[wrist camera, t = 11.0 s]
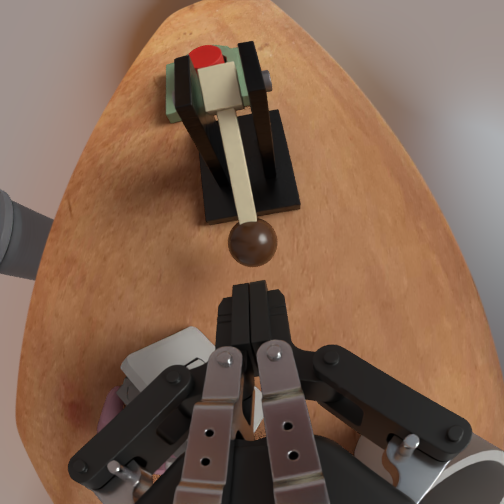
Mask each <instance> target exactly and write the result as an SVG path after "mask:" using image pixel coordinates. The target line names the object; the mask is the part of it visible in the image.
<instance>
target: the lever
mask: <svg viewBox="0 0 504 504" xmlns="http://www.w3.org/2000/svg"><path fill="white" fill-rule="evenodd" d="M197 72H198V77H199V82H200V87H201V92H202V97H203V102H204V107H205V111H206V112H207V113H209V114H210V115H212V116H213V115H217V117H218V122H219V127H220V132H221V137H222V142H223V147H224V152H225V157H226V161H227V166H228V171H229V176H230V181H231V186H232V191H233V195H234V200H235V205H236V210H237V215H238V220H239V222H238V223H237V224H236V225H235V226H234V227H233V228H232V230H231V231H230V234H229V237H228V248H229V251H230V253H231V255H232V257H233V258H234V259H235V260H236V261H237V262H238V263H240V264H242V265H244V266H247V267H258V266H261V265H264V264H266V263H267V262H268V261H270V260H271V258H272V257H273V256H274V254H275V252H276V249H277V236H276V233H275V231H274V229H273V228H272V226H271V225H270V224H269V223H267V222H266V221H264V220H262V219H259V218H257V215H256V210H255V205H254V200H253V195H252V190H251V184H250V179H249V174H248V169H247V164H246V159H245V154H244V149H243V144H242V139H241V134H240V129H239V124H238V119H237V114H236V111H237V110H242V109H244V103H243V98H242V93H241V88H240V83H239V79H238V74H237V70H236V67H235V64H234V61H232V62H227V63H222V64H218V65H213V66H209V67H205V68H201V69H198V70H197Z"/></svg>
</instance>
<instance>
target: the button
mask: <svg viewBox="0 0 504 504" xmlns="http://www.w3.org/2000/svg"><path fill="white" fill-rule="evenodd" d="M188 55H189V56H190V58H191V61H192V63H193V65H194V68H195V70H196V73H197V75H198V72H197V70H198V69H201V68H205V67H209V66H213V65H218V64H222V63H225V62H224V59H223V55H222V52H221V50H220V48H218V47H217V46H213V45H205V46H201V47H198V48H196V49H194V50H193V51H191V52H190V53H189V54H188ZM198 78H199V77H198Z"/></svg>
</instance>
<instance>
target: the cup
mask: <svg viewBox="0 0 504 504" xmlns="http://www.w3.org/2000/svg"><path fill="white" fill-rule="evenodd" d="M383 452H384V450H383V449H382V448H380V447H379V446H377V445H376V444H374V443H373V442H371V441H370V440H368V439H367V438H366V437H364V436H363V435H361V436H360V438H359V440H358V443H357V445H356V448H355V452H354V453H355V454H354V457H356V458H357V459H358V460H360V461H361V462H362V463H363V464H365V465H366V466H367V467H369V468H370V469H371V470H373V471H374V472H375V473H377V474H378V475H379V476H381V477H382V478H384V479H385V480H386V481H388V482H389V483H390V484H392V485H393V479H392V477H391V475H390V473H389V472H387V471H386V470H385V468H384V467H383V465H382V455H383ZM419 504H504V451H503V450H501V449H499V448H498V447H496V446H494V445H493V444H491V443H489V442H488V441H486V440H484V439H483V438H481V437H479V436H478V435H476V434H474V433H473V432H472V439H471V441H470V443H469V445H468V446H467V447H466V448H465V449H464V450H463V451H462V452H461V453H460V454H459V455H458V456H456V457H455V458H454V459H453V460H452V461H451V462H449V463H448V464H447V466H446V467H445V469H444V470H443V472H442V473H441V474H440V476H439V477H438V479H437V480H436V481H435V483H434V484H433V486H432V487H431V488H430V490H429V491H428V492H427V493H426V495H425V496H424V497H423V499H422V500H421V501H420V502H419Z"/></svg>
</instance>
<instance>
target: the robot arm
mask: <svg viewBox="0 0 504 504" xmlns="http://www.w3.org/2000/svg"><path fill="white" fill-rule="evenodd" d="M257 376H259V377H260V384H261V391H262V399H261V402H262V410H263V417H264V424H265V431H266V437H264V438H261V439H258V440H255V436H254V409H255V389H254V377H257ZM305 399H306V400H314V401H317V402H318V404H320V405H321V406H322V407H324V408H325V409H326V410H328V411H329V412H330V413H332V414H333V415H334V416H336V417H337V418H339V419H340V420H341V421H343V422H344V423H346V424H347V425H348V426H350V427H351V428H353V429H354V430H355V431H357V432H358V433H360V434H361V435H363V436H364V437H366V438H367V439H368V440H370V441H371V442H373V443H374V444H376V445H377V446H379V447H380V448H382V449H383V450H384V452H383V455H382V465H383V467H384V468H385V470H386V471H387V472H389V473H390V475H391V477H392V479H393V485H392V484H390V483H389V482H388V481H386V480H385V479H384V478H382V477H381V476H379V475H378V474H377V473H375V472H374V471H373V470H371V469H370V468H369V467H367V466H366V465H365V464H363V463H362V462H361V461H360V460H358V459H357V458H356V457H354V456H353V455H352V454H351V453H349V452H348V451H347V450H346V449H344V448H343V447H342V446H341V445H339V444H338V443H336V442H334V441H333V440H331V439H328V438H326V437H322V436H318V435H314V434H313V430H312V426H311V422H310V417H309V413H308V409H307V405H306V401H305ZM187 439H188V440H187ZM471 439H472V428H471V426H470V424H469V422H468V421H467V420H465V419H464V418H462V417H460V416H459V415H457V414H455V413H453V412H451V411H450V410H448V409H446V408H444V407H443V406H441V405H439V404H437V403H436V402H434V401H432V400H430V399H429V398H427V397H425V396H423V395H422V394H420V393H418V392H417V391H415V390H413V389H411V388H410V387H408V386H406V385H405V384H403V383H401V382H399V381H398V380H396V379H394V378H393V377H391V376H389V375H388V374H386V373H384V372H383V371H381V370H379V369H378V368H376V367H374V366H373V365H371V364H369V363H368V362H366V361H364V360H363V359H361V358H359V357H358V356H356V355H355V354H353V353H351V352H350V351H348V350H346V349H345V348H343V347H341V346H338V345H326V346H323V347H321V348H320V349H318V350H317V351H316V352H311V351H304V350H301V349H299V348H297V347H296V346H295V345H294V344H293V343H292V341H291V335H290V329H289V322H288V316H287V310H286V304H285V298H284V295H283V294H282V293H281V292H280V290H279V289H276V290H270V291H268V289H267V284H266V280H262V281H256V282H250V285H249V283H244V284H238V285H233V290H232V297H227V298H223V300H222V301H221V303H220V305H219V306H218V318H217V331H216V344H215V351H213V352H212V353H211V355H210V357H209V359H208V361H207V362H206V363H204V364H203V365H200V366H198V367H195V368H192V369H190V370H189V369H188V368H187V367H185V366H183V365H172V366H169V367H167V368H166V369H165V370H163V371H162V372H161V373H160V374H159V375H158V376H157V377H156V378H155V379H154V380H153V381H152V382H151V383H150V384H149V385H148V386H147V387H146V388H145V389H144V390H143V391H142V392H141V393H140V394H139V395H137V396H136V397H135V398H134V399H133V400H132V401H131V402H130V403H129V404H128V405H127V406H126V407H125V408H124V409H123V410H122V411H121V412H120V413H119V414H118V415H116V416H115V417H114V418H113V419H112V420H111V421H110V422H109V423H108V424H107V425H106V426H105V427H104V428H103V429H102V430H101V431H99V432H98V433H97V434H96V435H95V436H94V437H93V438H92V439H91V440H90V441H89V442H88V443H87V444H85V445H84V446H83V447H82V448H81V449H80V450H79V451H78V452H77V453H76V454H75V455H74V456H73V457H72V458H71V459H70V461H69V464H68V472H69V475H70V477H71V478H72V479H73V480H74V481H76V482H78V483H80V484H81V485H83V486H85V487H86V488H88V489H90V490H92V491H93V492H94V493H95V495H96V496H97V497H98V498H99V500H100V501H101V502H102V503H103V504H419V502H420V501H421V500H422V499H423V497H424V496H425V495H426V493H427V492H428V491H429V490H430V488H431V487H432V486H433V484H434V483H435V481H436V480H437V479H438V477H439V476H440V474H441V473H442V472H443V470H444V469H445V467H446V466H447V464H448V463H449V462H451V461H452V460H453V459H454V458H455V457H456V456H458V455H459V454H460V453H461V452H462V451H463V450H464V449H465V448H466V447H467V446H468V445H469V443H470V441H471ZM186 440H187V446H186V451H185V452H184V453H182V454H181V455H180V456H179V457H178V458H177V459H176V460H175V461H174V462H173V463H172V464H171V465H170V466H169V468H168V469H167V470H166V471H165V472H164V473H163V474H162V475H161V476H160V477H159V478H158V479H157V480H156V481H155V483H154V484H153V477H152V475H153V474H154V473H155V472H156V471H157V470H158V469H159V468H160V467H161V466H162V465H163V464H164V463H165V462H166V461H167V460H168V459H169V458H170V457H171V456H172V455H173V454H174V453H175V452H176V451H177V450H178V448H179V447H180V446H181V445H182V444H183V443H184V442H185V441H186Z"/></svg>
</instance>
